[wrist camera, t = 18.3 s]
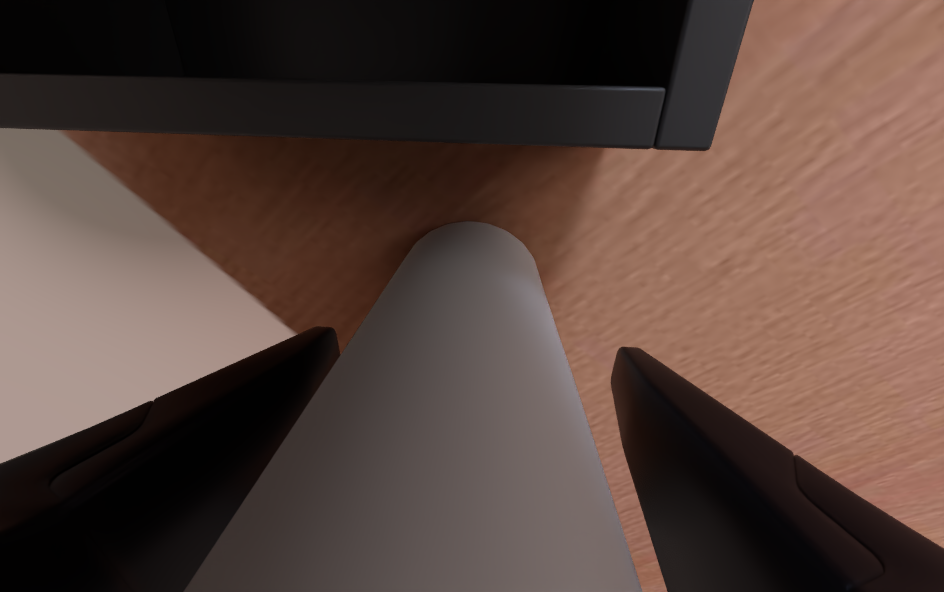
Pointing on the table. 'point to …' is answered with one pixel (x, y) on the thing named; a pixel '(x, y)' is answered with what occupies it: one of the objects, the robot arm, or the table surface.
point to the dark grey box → (376, 69)
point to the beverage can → (437, 449)
